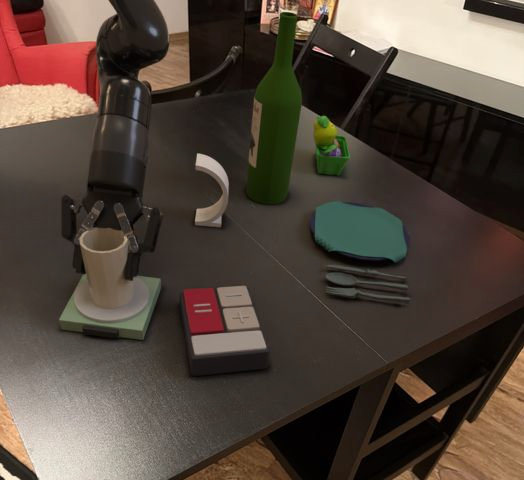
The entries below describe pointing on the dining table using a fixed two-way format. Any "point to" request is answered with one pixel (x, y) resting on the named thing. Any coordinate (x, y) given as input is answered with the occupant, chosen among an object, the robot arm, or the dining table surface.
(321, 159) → the fruit basket
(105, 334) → the scale
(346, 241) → the cutlery set
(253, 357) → the calculator
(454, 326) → the dining table surface
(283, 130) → the wine bottle
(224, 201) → the headphone stand
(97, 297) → the cream cup
